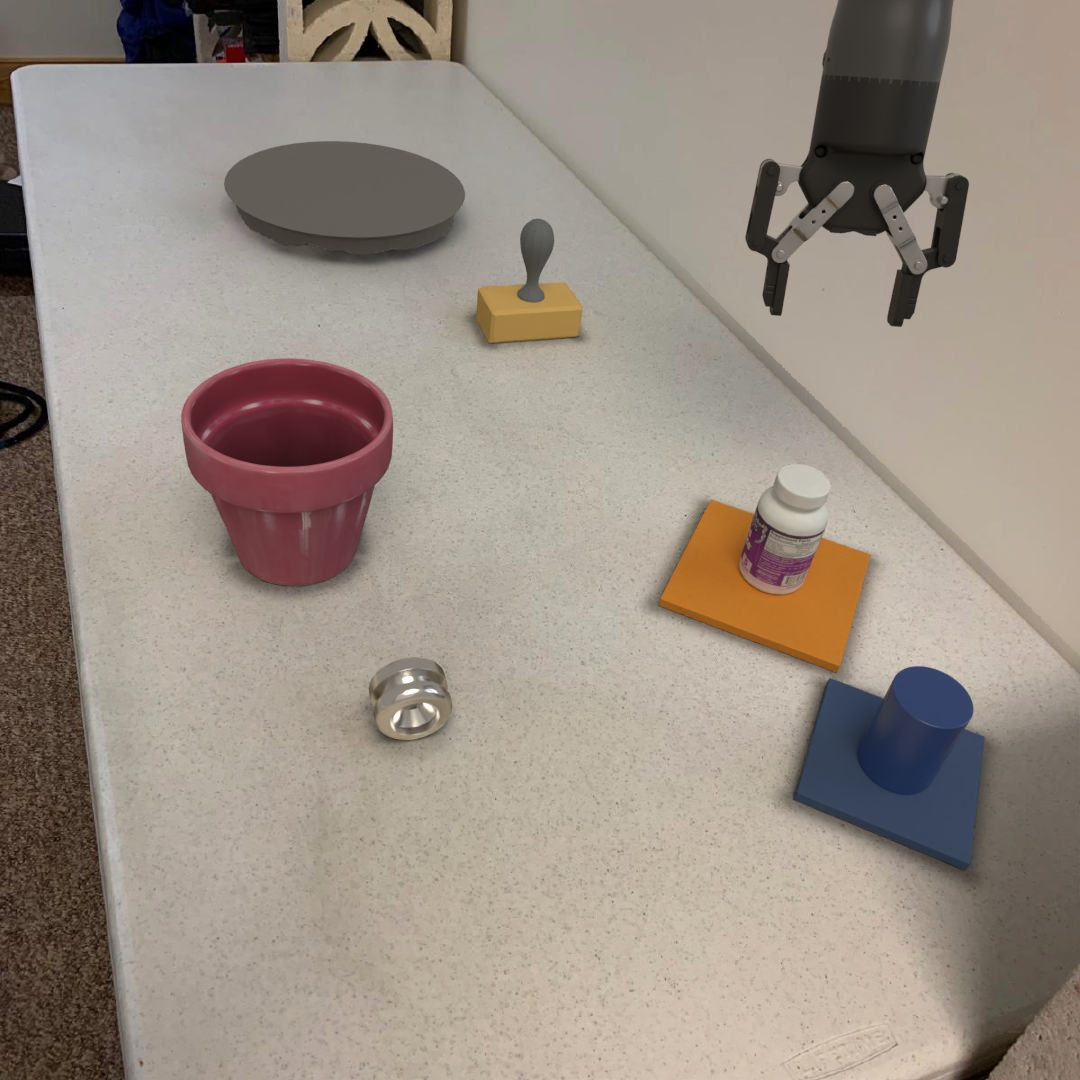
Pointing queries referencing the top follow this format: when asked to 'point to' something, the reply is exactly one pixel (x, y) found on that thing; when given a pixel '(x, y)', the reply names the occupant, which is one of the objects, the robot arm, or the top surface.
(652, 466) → the top surface
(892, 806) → the blue mat
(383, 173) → the flat disc
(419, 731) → the grooved metal pulley
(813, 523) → the pill bottle
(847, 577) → the amber mat
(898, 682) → the blue tin
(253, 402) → the flower pot
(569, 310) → the rubber stamp
